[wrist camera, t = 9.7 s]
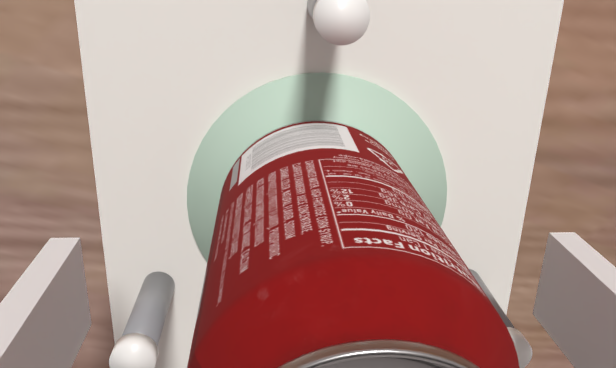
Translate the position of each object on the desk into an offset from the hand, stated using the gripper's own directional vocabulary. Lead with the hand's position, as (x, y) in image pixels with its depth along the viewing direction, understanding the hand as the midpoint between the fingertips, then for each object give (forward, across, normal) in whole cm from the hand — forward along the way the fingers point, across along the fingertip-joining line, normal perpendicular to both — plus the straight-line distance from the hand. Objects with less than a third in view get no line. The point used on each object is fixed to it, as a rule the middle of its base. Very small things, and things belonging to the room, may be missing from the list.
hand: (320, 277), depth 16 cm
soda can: (+5, 0, 0) cm, 5 cm away
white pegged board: (+7, 0, 0) cm, 7 cm away
